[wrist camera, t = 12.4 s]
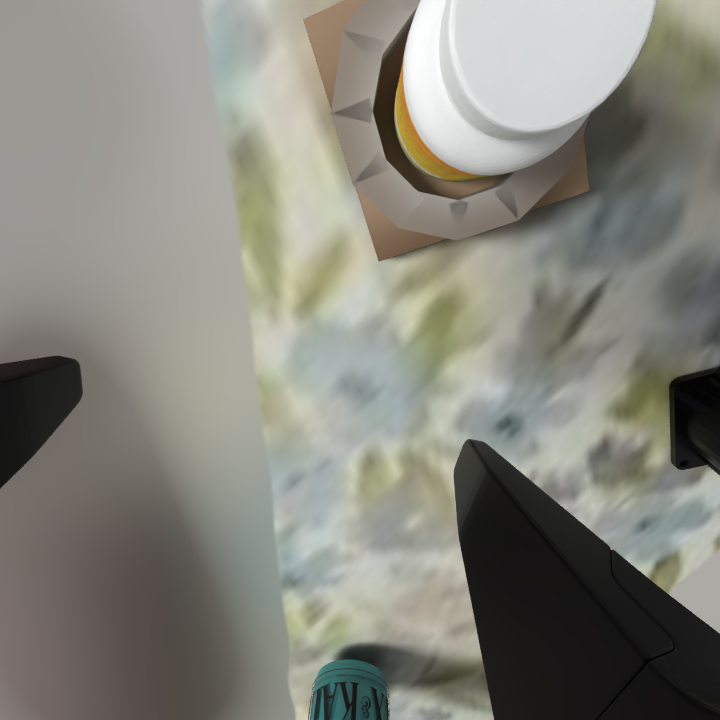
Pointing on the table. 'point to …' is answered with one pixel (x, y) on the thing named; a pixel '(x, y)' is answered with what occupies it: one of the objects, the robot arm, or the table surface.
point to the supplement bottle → (509, 78)
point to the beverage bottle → (349, 692)
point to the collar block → (385, 155)
